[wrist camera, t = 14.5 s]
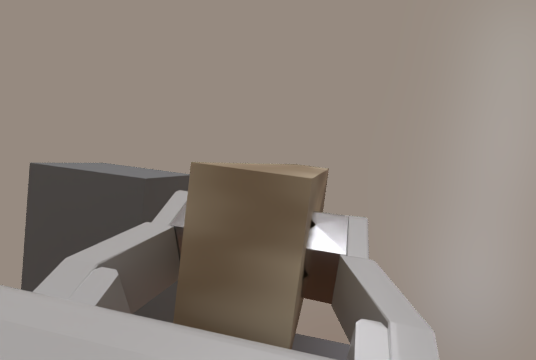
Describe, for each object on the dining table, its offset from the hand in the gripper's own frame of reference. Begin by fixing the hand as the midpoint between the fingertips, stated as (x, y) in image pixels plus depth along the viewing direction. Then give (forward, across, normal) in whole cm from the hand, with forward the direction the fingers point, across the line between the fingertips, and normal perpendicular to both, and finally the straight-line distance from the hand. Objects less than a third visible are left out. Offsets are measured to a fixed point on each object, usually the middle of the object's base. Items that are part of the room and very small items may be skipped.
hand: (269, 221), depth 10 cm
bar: (+5, 0, +6) cm, 7 cm away
